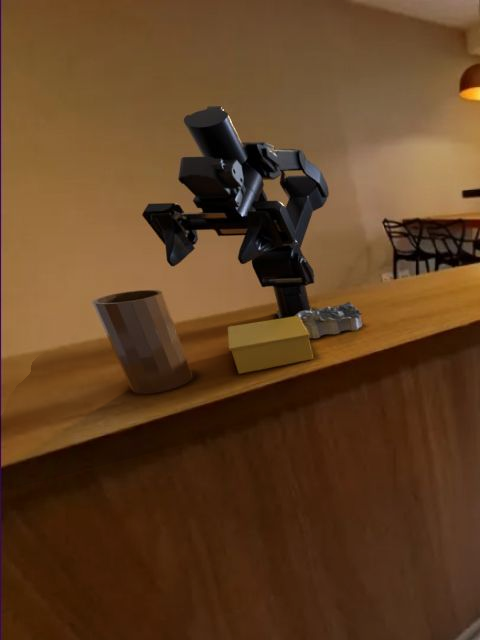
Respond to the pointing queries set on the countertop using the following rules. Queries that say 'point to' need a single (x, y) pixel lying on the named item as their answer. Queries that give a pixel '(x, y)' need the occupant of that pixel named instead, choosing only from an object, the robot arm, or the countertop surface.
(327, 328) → the grey knobbed block
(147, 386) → the brown faceted cup
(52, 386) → the countertop surface
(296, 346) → the yellow block
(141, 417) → the countertop surface
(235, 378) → the countertop surface
